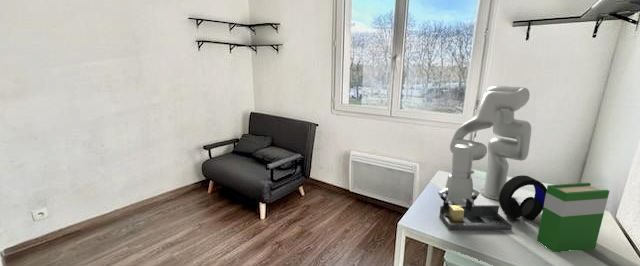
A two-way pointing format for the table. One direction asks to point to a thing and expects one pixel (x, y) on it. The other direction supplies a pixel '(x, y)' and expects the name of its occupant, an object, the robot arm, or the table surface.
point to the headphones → (529, 206)
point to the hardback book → (572, 217)
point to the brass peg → (456, 214)
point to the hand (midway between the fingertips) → (457, 209)
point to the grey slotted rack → (477, 213)
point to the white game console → (460, 201)
